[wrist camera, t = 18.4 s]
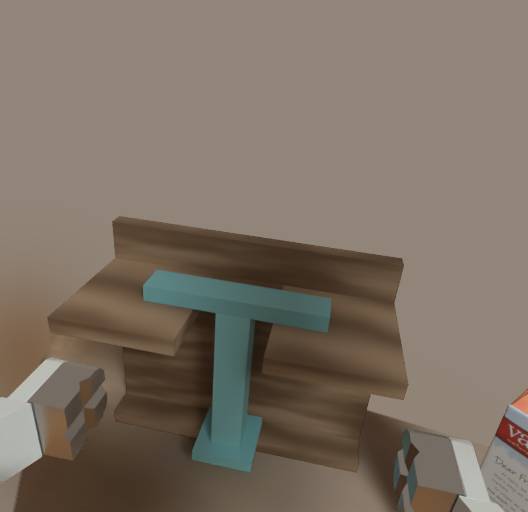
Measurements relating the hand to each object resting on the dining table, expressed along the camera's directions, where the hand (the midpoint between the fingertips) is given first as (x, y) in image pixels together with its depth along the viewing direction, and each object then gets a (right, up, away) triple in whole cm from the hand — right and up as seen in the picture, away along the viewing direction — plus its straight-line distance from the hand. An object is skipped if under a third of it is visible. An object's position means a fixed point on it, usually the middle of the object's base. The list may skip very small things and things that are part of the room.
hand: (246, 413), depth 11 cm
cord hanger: (-3, -15, +34) cm, 37 cm away
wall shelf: (-4, -18, +35) cm, 39 cm away
